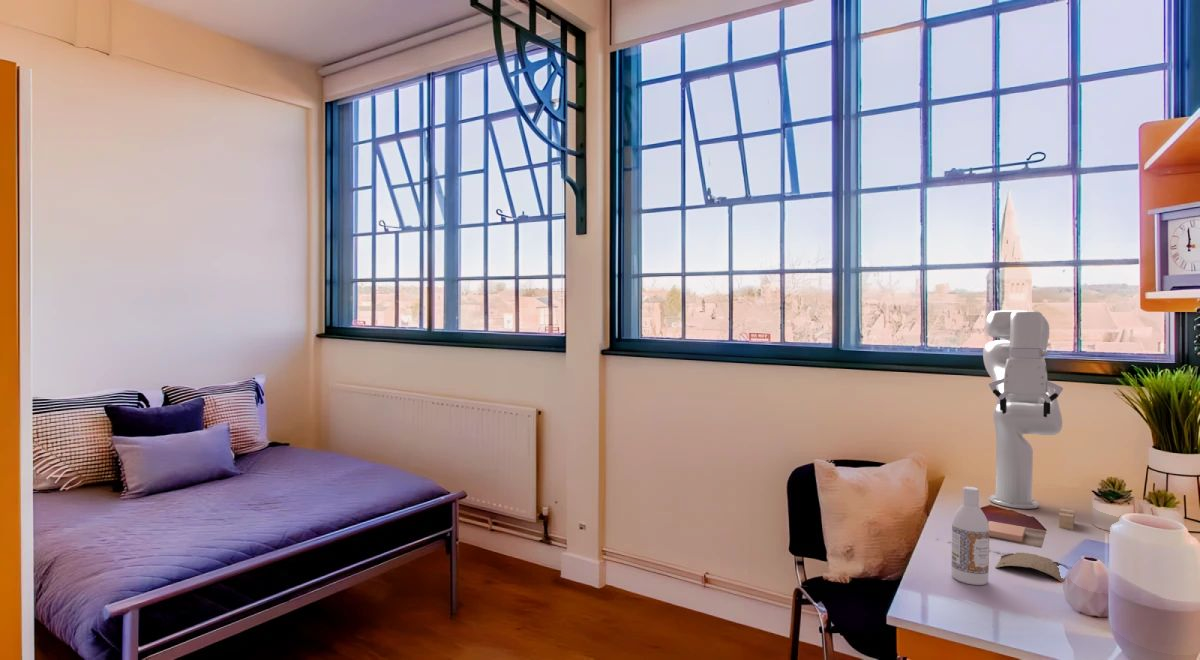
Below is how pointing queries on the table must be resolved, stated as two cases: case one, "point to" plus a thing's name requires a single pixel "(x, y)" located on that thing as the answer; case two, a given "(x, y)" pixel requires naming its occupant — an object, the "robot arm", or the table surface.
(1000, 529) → the peach flat slab
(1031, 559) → the clay tablet
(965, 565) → the bath foam
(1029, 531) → the walnut board
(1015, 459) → the robot arm
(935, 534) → the table surface
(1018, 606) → the table surface
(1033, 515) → the table surface
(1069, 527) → the tan block
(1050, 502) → the table surface
